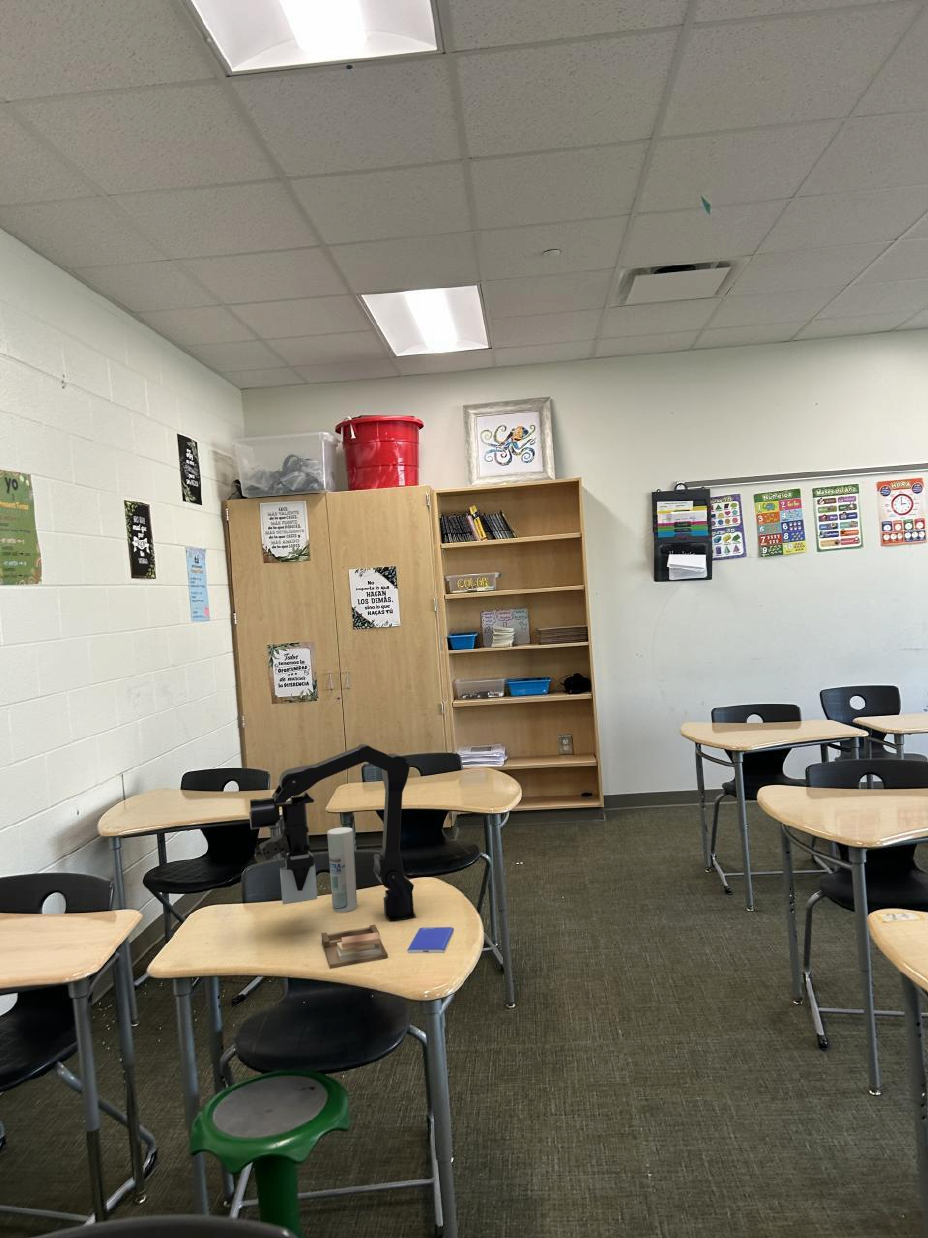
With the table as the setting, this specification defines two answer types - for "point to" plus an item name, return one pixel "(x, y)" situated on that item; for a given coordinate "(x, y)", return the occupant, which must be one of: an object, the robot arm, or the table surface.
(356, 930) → the rack
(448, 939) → the hard drive
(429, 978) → the table surface
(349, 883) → the spray can
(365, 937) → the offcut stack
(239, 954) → the table surface
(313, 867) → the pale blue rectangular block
